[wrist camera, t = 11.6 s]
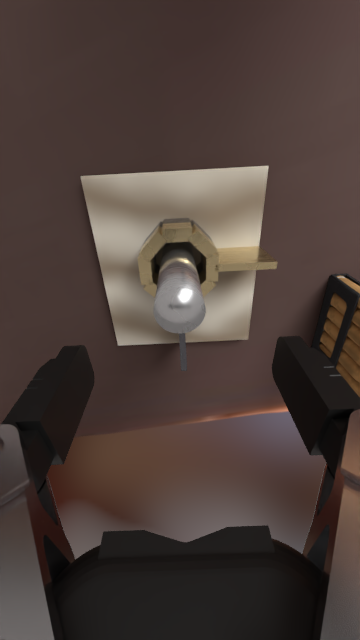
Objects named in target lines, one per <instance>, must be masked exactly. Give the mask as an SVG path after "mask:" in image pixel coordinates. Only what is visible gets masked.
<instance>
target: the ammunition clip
mask: <svg viewBox="0 0 360 640" xmlns="http://www.w3.org/2000/svg"><path fill="white" fill-rule="evenodd" d="M311 348H315V349H316V350H318V351H319V352H321V353H322V354H324V355H325V356H326V357H327V358H328V359H329V361H330V362H331V363H332V364H333V365H334V368H336V369H337V370H338V372H339V373H340V375H341V376H343V378H344V379H345V380H346V381H347V383H348V384H349V385H350V386H351V388H352V389H353V390H354V391H355V392H356V394H357V395H358V396H359V397H360V282H359V281H357V280H356V279H354V278H353V277H351V276H350V275H348V274H335V275H331V276H330V277H329V281H328V285H327V289H326V293H325V297H324V301H323V305H322V308H321V312H320V316H319V320H318V324H317V328H316V332H315V336H314V340H313V344H312V347H311Z"/></svg>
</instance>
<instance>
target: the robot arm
mask: <svg viewBox="0 0 360 640" xmlns="http://www.w3.org/2000/svg"><path fill="white" fill-rule="evenodd" d="M272 373H273V378H274V380H275V383H276V385H277V387H278V389H279V391H280V393H281V395H282V397H283V399H284V402H285V404H286V406H287V408H288V410H289V412H290V414H291V416H292V418H293V421H294V423H295V425H296V427H297V429H298V431H299V433H300V435H301V437H302V440H303V442H304V444H305V446H306V448H307V450H308V452H309V454H310V455H323V457H324V459H325V460H326V462H327V463H326V465H325V468H324V472H323V476H322V481H321V485H320V490H319V494H318V498H317V503H316V507H315V512H314V516H313V521H312V524H311V527H310V530H309V532H308V535H307V538H306V542H305V545H304V549H303V553H302V554H301V553H300V552H298V551H297V550H295V549H293V548H292V547H290V546H289V545H286V544H284V543H282V542H280V541H278V540H274V539H272V538H271V535H270V531H269V527H268V526H242V527H226V528H224V529H221V530H219V531H216V532H214V533H211V534H208V535H206V536H203V537H201V538H199V539H196V540H193V541H190V542H187V543H186V542H180V541H177V540H174V539H170V538H167V537H164V536H161V535H157V534H154V533H151V532H148V531H145V530H135V531H108V532H103V536H102V542H101V545H100V546H97V547H95V548H93V549H91V550H89V551H88V552H86V553H85V554H83V555H81V556H80V557H79V558H77V559H76V560H75V557H74V554H73V551H72V548H71V546H70V543H69V541H68V539H67V537H66V535H65V533H64V530H63V527H62V524H61V520H60V517H59V514H58V510H57V507H56V503H55V499H54V496H53V493H52V490H51V486H50V482H49V479H48V477H47V473H48V470H49V468H50V466H51V465H56V464H64V461H65V459H66V456H67V454H68V451H69V449H70V446H71V443H72V441H73V438H74V436H75V433H76V430H77V428H78V425H79V423H80V420H81V417H82V415H83V412H84V410H85V407H86V404H87V402H88V399H89V397H90V394H91V391H92V389H93V386H94V372H93V369H92V365H91V362H90V359H89V356H88V353H87V350H86V347H85V346H84V345H79V346H64V347H63V348H62V349H61V351H60V352H59V354H58V356H57V357H56V359H51V360H49V361H48V362H47V363H46V364H44V365H43V366H42V367H41V368H40V369H39V370H38V372H37V373H36V375H35V376H34V378H33V380H32V381H31V382H30V383H29V385H28V386H27V389H25V391H24V392H23V394H22V395H21V396H20V398H19V399H18V401H17V402H16V404H15V405H14V407H13V408H12V409H11V411H10V412H9V414H8V415H7V417H6V418H5V420H4V421H3V422H2V424H1V425H0V640H360V397H359V396H358V395H357V394H356V392H355V391H354V390H353V389H352V388H351V386H350V385H349V384H348V383H347V381H346V380H345V379H344V378H343V376H341V375H340V373H339V372H338V370H337V369H336V368H334V365H333V364H332V363H331V362H330V361H329V359H328V358H327V357H326V356H325V355H324V354H322V353H321V352H319V351H318V350H316V349H315V348H309V347H308V346H307V345H306V343H305V342H304V341H303V339H302V338H301V337H300V336H287V337H279V338H278V340H277V344H276V349H275V354H274V359H273V364H272Z"/></svg>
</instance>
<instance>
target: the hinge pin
mask: <svg viewBox="0 0 360 640" xmlns="http://www.w3.org/2000/svg"><path fill="white" fill-rule="evenodd" d="M153 313H154V317H155V320H156V322H157V323H158V324H159V325H160V326H161V327H162V328H163V329H165V330H166V331H169V332H172V333H179V334H181V333H187V332H190V331H192V330H194V329H196V328H197V327H198V326H199V325H200V324H201V323H202V322H203V320H204V317H205V314H206V307H205V302H204V298H203V294H202V290H201V285H200V281H199V277H198V272H197V268H196V264H195V260H194V255H193V251H192V248H191V246H190V244H189V243H188V242H171V243H166V244H165V246H164V248H163V252H162V258H161V264H160V271H159V277H158V283H157V289H156V296H155V302H154V309H153Z"/></svg>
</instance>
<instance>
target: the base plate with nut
mask: <svg viewBox="0 0 360 640" xmlns="http://www.w3.org/2000/svg"><path fill="white" fill-rule="evenodd" d="M267 175H268V166H256V167H238V168H220V169H201V170H183V171H165V172H147V173H129V174H111V175H93V176H80V177H81V181H82V186H83V190H84V195H85V199H86V204H87V208H88V213H89V217H90V222H91V226H92V231H93V235H94V240H95V244H96V249H97V253H98V258H99V262H100V267H101V271H102V276H103V280H104V285H105V289H106V294H107V298H108V303H109V307H110V312H111V316H112V321H113V325H114V330H115V334H116V339H117V343H118V346H122V345H143V344H164V343H180V358H181V371H187V361H186V342H205V341H226V340H246V339H248V334H249V326H250V318H251V309H252V301H253V292H254V284H255V276H256V270H262V269H276V267H277V261H276V260H275V259H274V258H272V257H271V256H270V255H269V254H268V253H267V252H265V251H264V250H263V249H262V248H261V247H259V242H260V234H261V225H262V217H263V208H264V200H265V192H266V183H267ZM171 242H188V243H189V244H190V246H191V248H192V251H193V255H194V260H195V264H196V268H197V272H198V277H199V281H200V285H201V290H202V294H203V298H204V302H205V307H206V314H205V317H204V320H203V322H202V323H201V324H200V325H199V326H198V327H197V328H196V329H194V330H192V331H190V332H187V333H181V334H179V333H172V332H169V331H166V330H165V329H163V328H162V327H161V326H160V325H159V324H158V323H157V322H156V320H155V317H154V313H153V309H154V302H155V296H156V289H157V283H158V277H159V271H160V264H161V258H162V252H163V248H164V246H165V244H166V243H171Z"/></svg>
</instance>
